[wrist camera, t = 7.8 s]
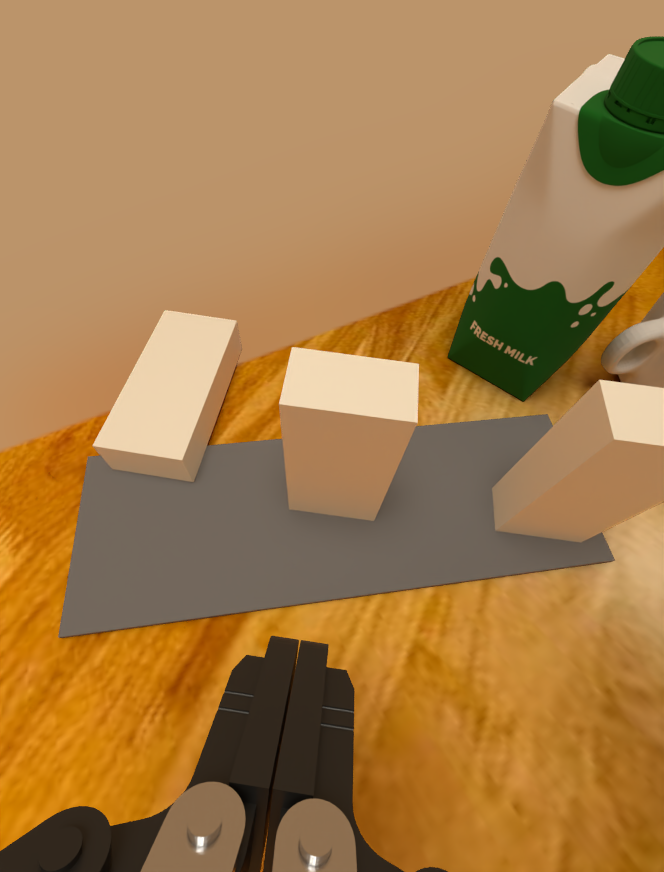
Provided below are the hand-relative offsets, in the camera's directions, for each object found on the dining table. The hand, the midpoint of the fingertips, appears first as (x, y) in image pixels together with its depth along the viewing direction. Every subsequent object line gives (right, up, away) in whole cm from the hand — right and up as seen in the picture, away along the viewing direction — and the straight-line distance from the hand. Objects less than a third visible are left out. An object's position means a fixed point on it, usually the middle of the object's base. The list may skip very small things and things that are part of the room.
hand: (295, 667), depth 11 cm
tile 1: (+1, +2, +17) cm, 17 cm away
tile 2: (+14, +1, +17) cm, 22 cm away
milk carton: (+15, +13, +25) cm, 32 cm away
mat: (+2, +1, +17) cm, 17 cm away
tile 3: (-11, +4, +15) cm, 19 cm away
